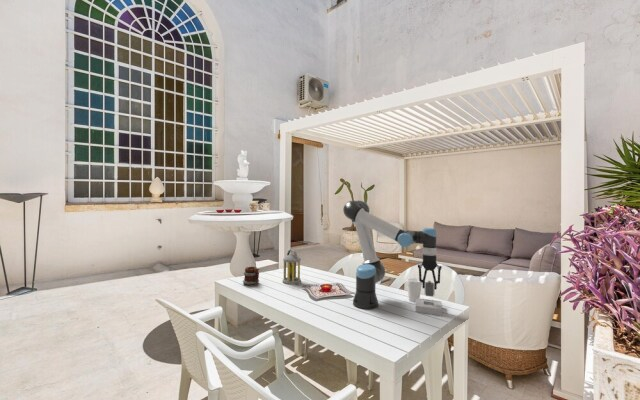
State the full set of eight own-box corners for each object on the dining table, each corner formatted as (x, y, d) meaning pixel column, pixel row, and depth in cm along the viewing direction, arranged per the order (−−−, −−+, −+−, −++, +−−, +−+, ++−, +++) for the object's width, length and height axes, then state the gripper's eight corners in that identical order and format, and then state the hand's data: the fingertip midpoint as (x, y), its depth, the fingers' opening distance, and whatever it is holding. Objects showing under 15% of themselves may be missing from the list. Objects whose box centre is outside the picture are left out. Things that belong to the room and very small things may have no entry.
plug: (425, 295, 175) (425, 281, 175) (426, 293, 179) (425, 279, 179) (433, 296, 174) (433, 282, 174) (433, 294, 178) (433, 280, 178)
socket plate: (415, 311, 173) (415, 305, 173) (416, 303, 186) (416, 298, 186) (441, 315, 168) (441, 309, 168) (441, 307, 181) (441, 301, 181)
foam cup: (422, 303, 187) (422, 282, 187) (407, 302, 189) (407, 281, 189) (420, 298, 196) (420, 278, 196) (405, 297, 198) (406, 277, 198)
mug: (252, 280, 233) (254, 261, 232) (263, 287, 224) (265, 267, 222) (239, 282, 225) (241, 263, 223) (249, 290, 215) (252, 270, 213)
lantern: (278, 281, 231) (279, 249, 231) (293, 278, 241) (293, 247, 241) (289, 285, 221) (290, 251, 221) (304, 282, 230) (305, 249, 230)
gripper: (413, 254, 176) (413, 294, 176) (445, 256, 170) (445, 297, 170) (414, 252, 183) (414, 291, 183) (445, 254, 177) (445, 294, 177)
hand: (429, 294), depth 177 cm, fingers closed on plug, 4 cm apart
